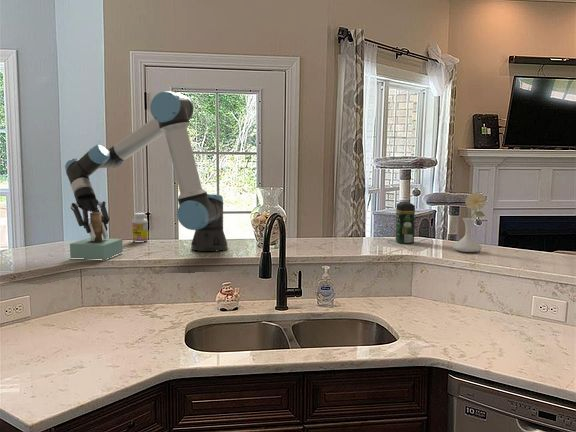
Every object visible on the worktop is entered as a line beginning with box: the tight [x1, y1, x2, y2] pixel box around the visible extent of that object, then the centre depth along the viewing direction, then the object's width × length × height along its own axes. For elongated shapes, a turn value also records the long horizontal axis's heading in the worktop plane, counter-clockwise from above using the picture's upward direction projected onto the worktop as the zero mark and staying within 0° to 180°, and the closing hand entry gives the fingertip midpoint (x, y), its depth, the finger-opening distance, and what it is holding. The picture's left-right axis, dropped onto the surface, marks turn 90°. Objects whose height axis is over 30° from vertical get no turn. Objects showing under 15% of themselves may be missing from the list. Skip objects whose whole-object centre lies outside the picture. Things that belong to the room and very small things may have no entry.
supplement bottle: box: [131, 212, 149, 242], centre depth 244 cm, size 7×7×13 cm
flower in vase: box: [453, 191, 487, 253], centre depth 224 cm, size 13×11×25 cm
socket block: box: [69, 237, 124, 260], centre depth 210 cm, size 14×14×6 cm
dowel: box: [89, 211, 103, 243], centre depth 209 cm, size 4×4×14 cm
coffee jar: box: [395, 201, 416, 245], centre depth 246 cm, size 10×8×19 cm
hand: (100, 238), depth 207 cm, fingers closed on dowel, 4 cm apart
